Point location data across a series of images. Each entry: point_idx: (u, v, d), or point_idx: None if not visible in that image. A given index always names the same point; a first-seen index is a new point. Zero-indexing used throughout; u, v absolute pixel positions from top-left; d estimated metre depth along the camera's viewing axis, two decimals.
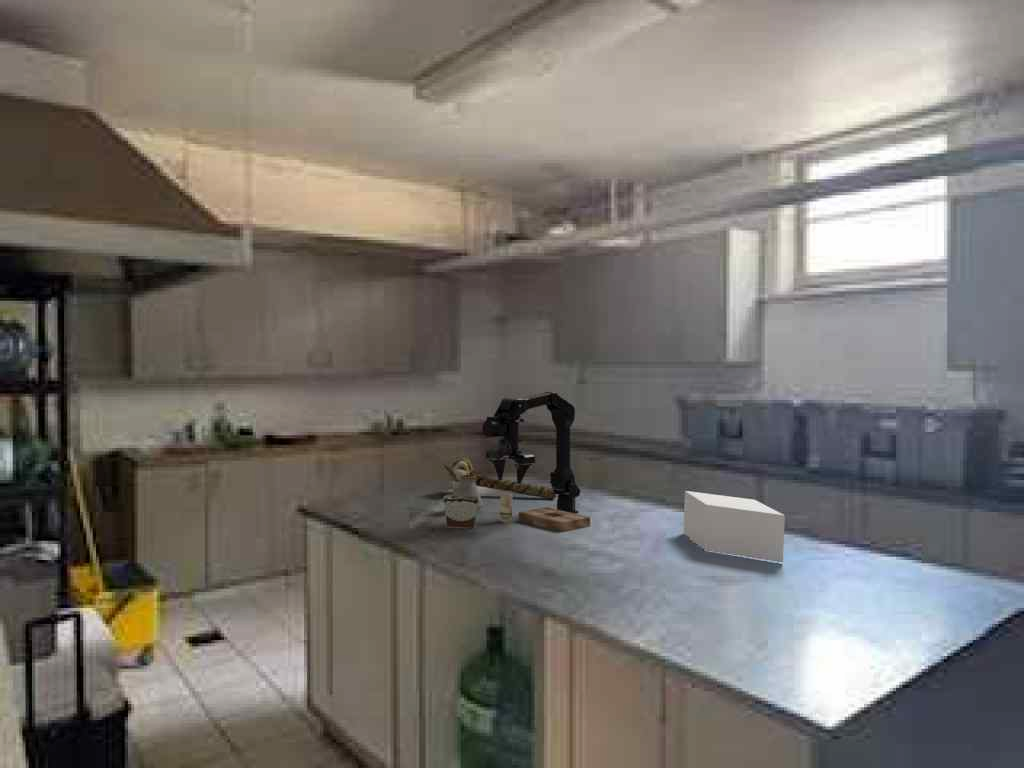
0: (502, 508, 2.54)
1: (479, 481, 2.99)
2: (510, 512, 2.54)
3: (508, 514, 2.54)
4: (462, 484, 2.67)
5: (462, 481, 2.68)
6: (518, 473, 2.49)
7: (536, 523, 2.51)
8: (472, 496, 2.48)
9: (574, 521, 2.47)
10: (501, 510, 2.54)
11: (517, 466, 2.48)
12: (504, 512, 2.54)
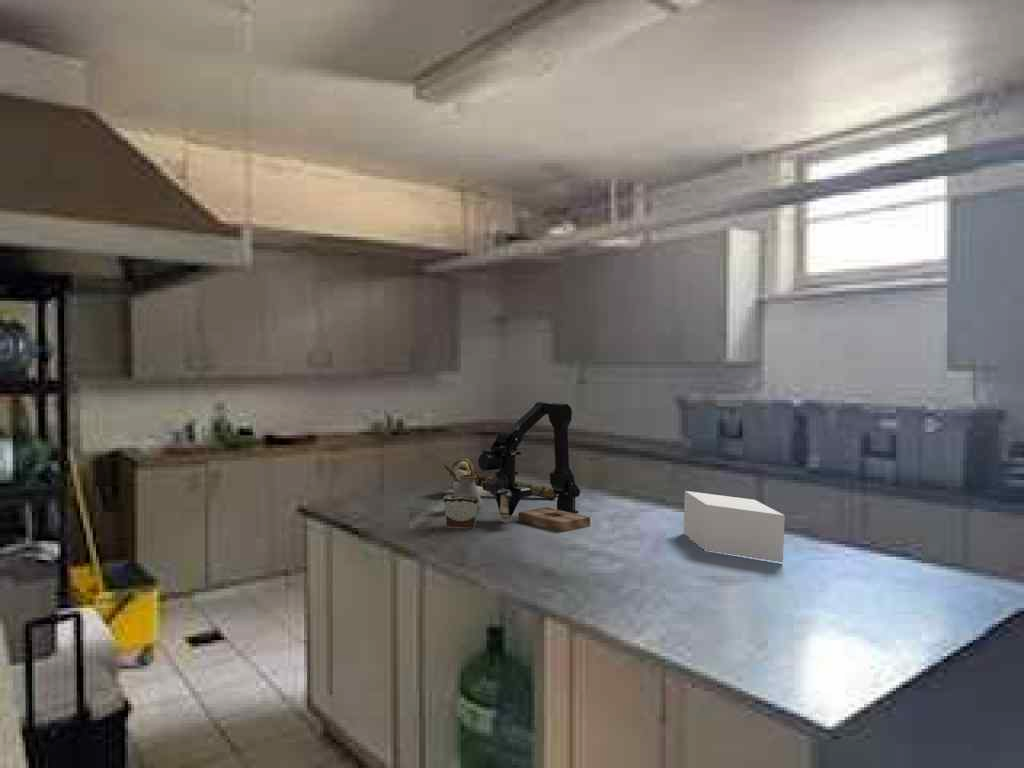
0: (502, 508, 2.54)
1: (480, 481, 2.98)
2: None
3: (508, 514, 2.54)
4: (462, 484, 2.67)
5: (462, 481, 2.68)
6: (510, 505, 2.52)
7: (536, 523, 2.51)
8: (472, 496, 2.48)
9: (574, 521, 2.47)
10: (501, 510, 2.54)
11: (509, 498, 2.51)
12: (504, 512, 2.54)
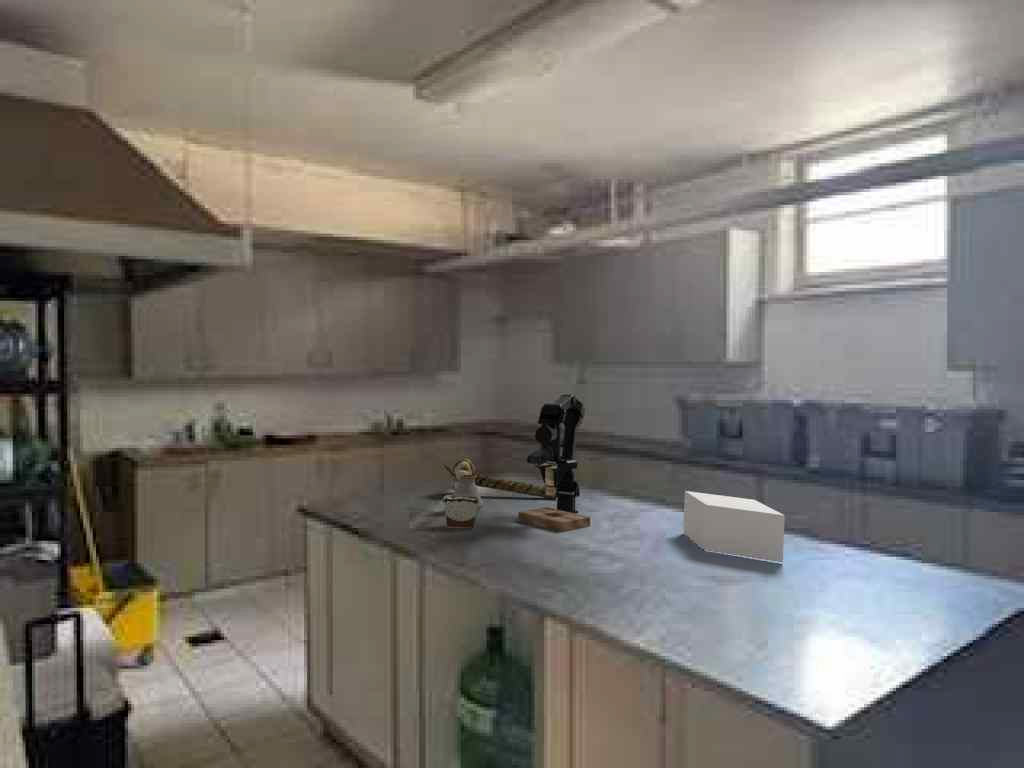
0: (547, 481, 2.53)
1: (481, 481, 2.98)
2: None
3: (553, 487, 2.52)
4: (462, 484, 2.67)
5: (462, 481, 2.68)
6: (555, 477, 2.51)
7: (536, 523, 2.51)
8: (472, 496, 2.48)
9: (574, 521, 2.47)
10: (546, 483, 2.53)
11: (554, 470, 2.49)
12: (549, 485, 2.52)
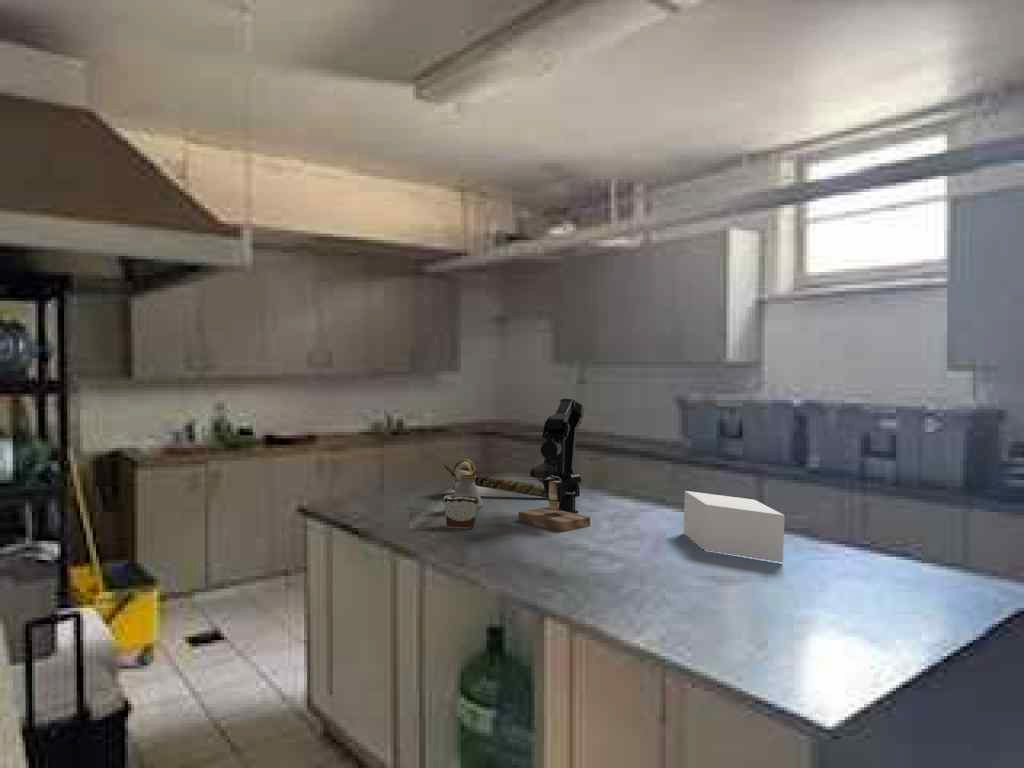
0: (551, 495, 2.53)
1: (482, 481, 2.98)
2: None
3: (557, 501, 2.52)
4: (462, 484, 2.67)
5: (462, 481, 2.68)
6: (559, 492, 2.51)
7: (536, 523, 2.51)
8: (472, 496, 2.48)
9: (574, 521, 2.47)
10: (550, 497, 2.53)
11: (558, 485, 2.50)
12: (553, 499, 2.52)
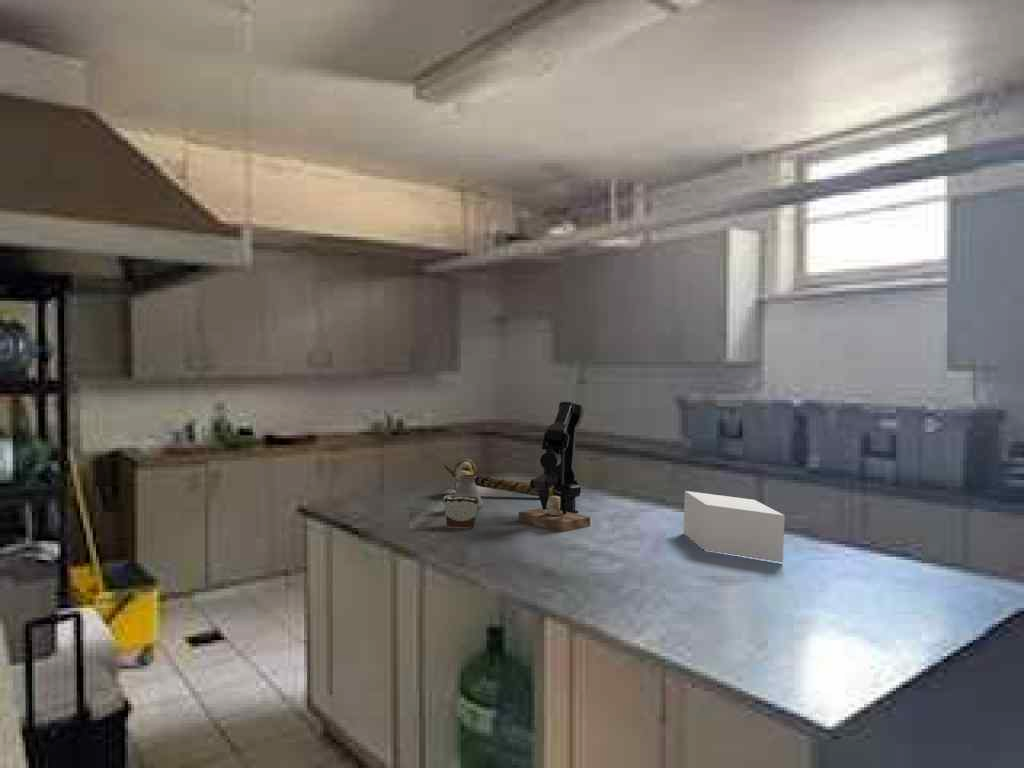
0: (550, 510, 2.53)
1: (483, 482, 2.97)
2: (558, 514, 2.53)
3: (556, 516, 2.53)
4: (462, 484, 2.67)
5: (462, 481, 2.68)
6: (564, 504, 2.49)
7: (536, 523, 2.51)
8: (472, 496, 2.48)
9: (574, 521, 2.47)
10: (549, 512, 2.53)
11: (563, 497, 2.48)
12: (552, 514, 2.52)
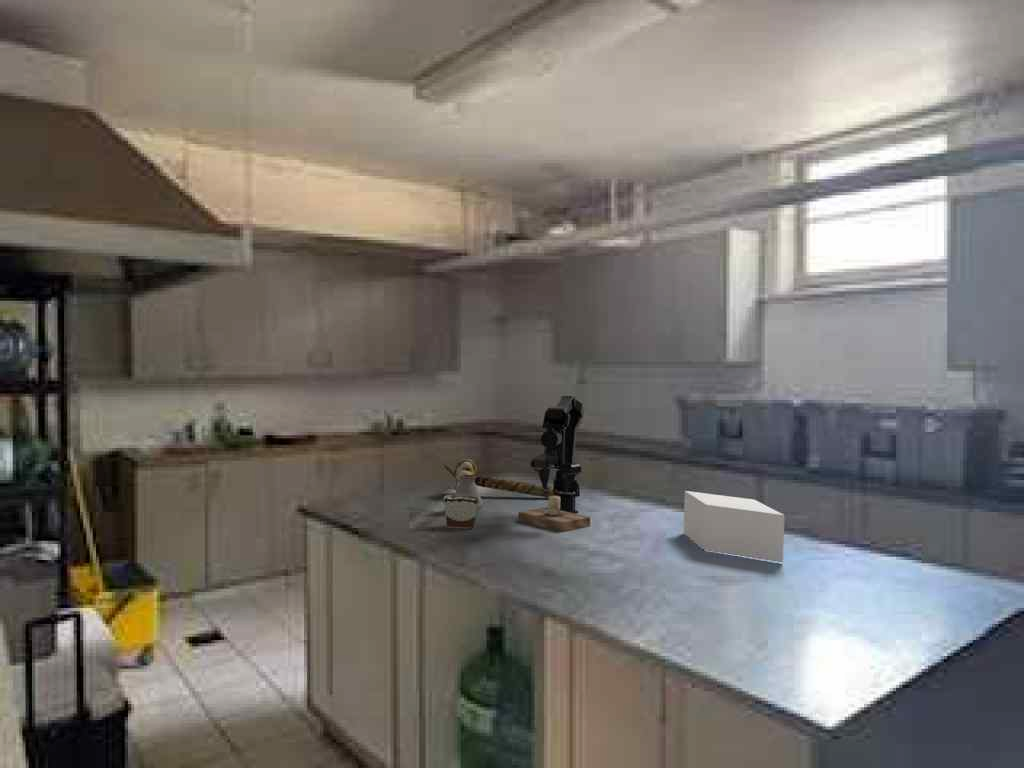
0: (550, 510, 2.53)
1: (484, 482, 2.97)
2: (558, 514, 2.53)
3: (556, 516, 2.53)
4: (462, 484, 2.67)
5: (462, 481, 2.68)
6: (564, 483, 2.49)
7: (536, 523, 2.51)
8: (472, 496, 2.48)
9: (574, 521, 2.47)
10: (549, 512, 2.53)
11: (563, 476, 2.48)
12: (552, 514, 2.52)
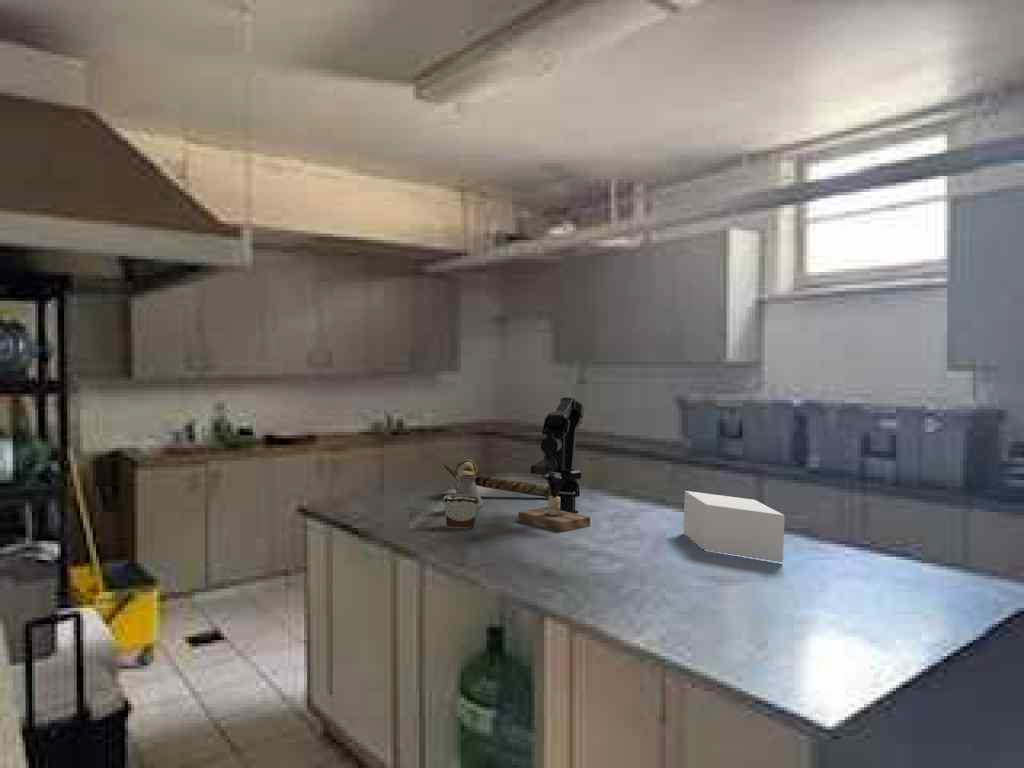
0: (550, 510, 2.53)
1: (484, 482, 2.97)
2: (558, 514, 2.53)
3: (556, 516, 2.53)
4: (462, 484, 2.67)
5: (462, 481, 2.68)
6: (554, 487, 2.52)
7: (536, 523, 2.51)
8: (472, 496, 2.48)
9: (574, 521, 2.47)
10: (549, 512, 2.53)
11: (554, 480, 2.51)
12: (552, 514, 2.52)
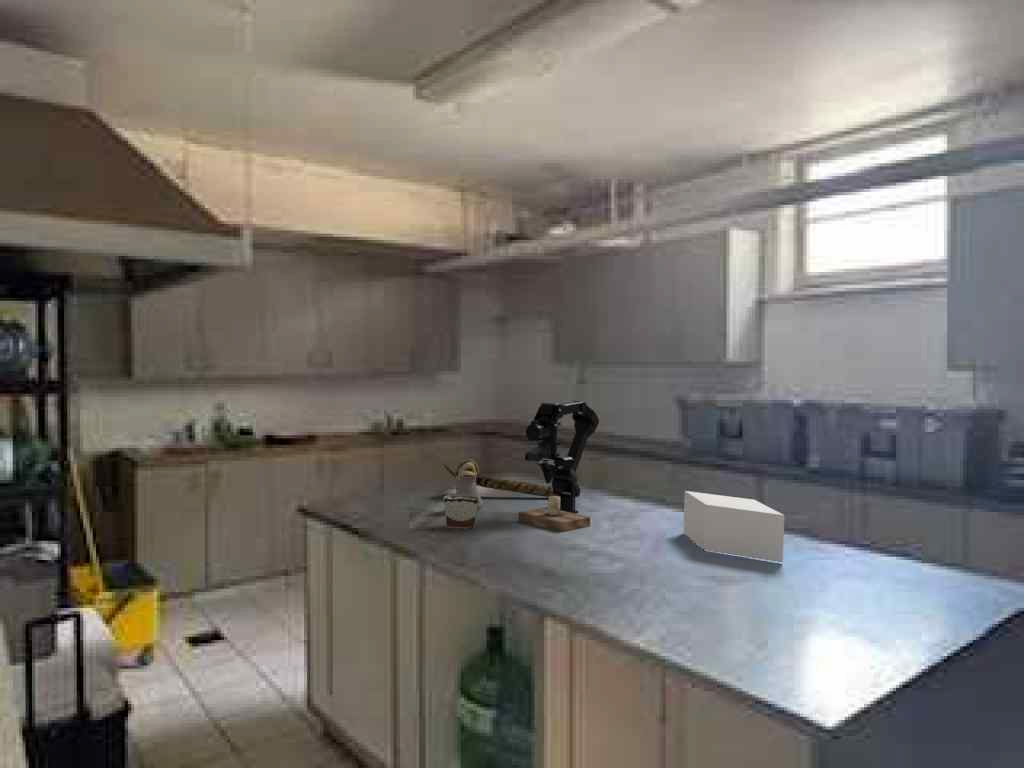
0: (550, 510, 2.53)
1: (486, 482, 2.96)
2: (558, 514, 2.53)
3: (556, 516, 2.53)
4: (462, 484, 2.67)
5: (462, 481, 2.68)
6: (548, 473, 2.61)
7: (536, 523, 2.51)
8: (472, 496, 2.48)
9: (574, 521, 2.47)
10: (549, 512, 2.53)
11: (547, 467, 2.60)
12: (552, 514, 2.52)
